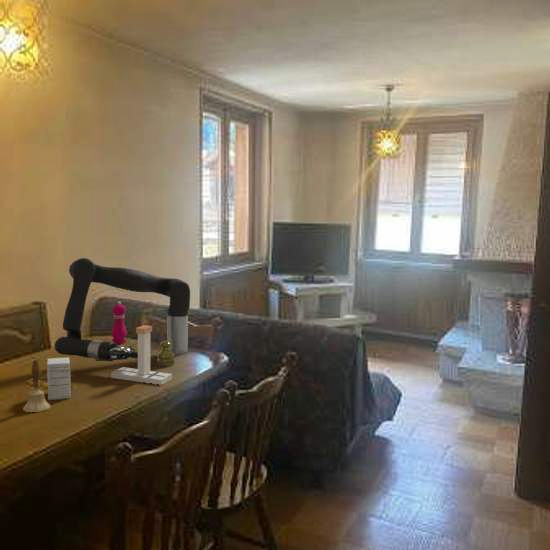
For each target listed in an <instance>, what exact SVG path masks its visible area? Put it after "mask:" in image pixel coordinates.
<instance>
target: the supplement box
mask: <svg viewBox="0 0 550 550" xmlns="http://www.w3.org/2000/svg"><path fill="white" fill-rule="evenodd" d="M70 360H71V359H70V357H53V358H47V359H46V374H47V377H46V379H47V399H48V401H53V400H64V399H65V398H66V399H71V392H72V391H71V388H72V387H71V362H70Z"/></svg>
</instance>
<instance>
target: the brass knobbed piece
mask: <svg viewBox="0 0 550 550" xmlns="http://www.w3.org/2000/svg"><path fill="white" fill-rule="evenodd" d="M159 345H160V346H161V347H162V348H161V350H160V351H159V352H157V354H156V357H157V359H156V364H157V366H159V365H160V367H169V366H170V365H171V366H173V364H174V365H175V363H176V362H175V360H176V358H175V356H176V354H175V353H174V352H172V351H171V350H170V349H169V347H170V346H171V345H172V343H171V342H169V341H167V339H166V340H164V341H161V342H160V343H159ZM171 366H170V367H171Z"/></svg>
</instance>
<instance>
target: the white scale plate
mask: <svg viewBox="0 0 550 550" xmlns="http://www.w3.org/2000/svg"><path fill="white" fill-rule="evenodd" d="M110 378H111V379H116V380H117V379H118V380H123V381H124V380H125V381H130V380H131V382H138V383H143V382H145V384H150V383H152V384H151V385H157V384H159V386H163V385H164V384H166V383H168V382H169V380H170V381H172V380H173V373H167V372H161V371H160V372H159V371H154V370H153V371H152V370H150V372H149V373H147V374H145V375H141V374H138V368H134V367H133V368H132V367H131V368H130V367H125V366H123V367H120V368H118V369H115V370H114V371H111V372H110ZM167 381H168V382H167ZM162 384H163V385H162Z"/></svg>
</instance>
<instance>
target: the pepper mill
mask: <svg viewBox="0 0 550 550" xmlns="http://www.w3.org/2000/svg"><path fill="white" fill-rule="evenodd" d="M112 313H113V318H114V323H113V326H112V329H111V337H112V339H111V340H112V341H111V342H114V343H116V345H122V343H123V344H125V342H126V341H127V339H126V337H127V335H128V331H127V329H126V326H125V323H124V319H125V313H126V306H125V305H123V304H122V303H121V301H120V300H119V301H117V303H116V304H115V305H114V306H113V307H112ZM126 343H127V342H126Z"/></svg>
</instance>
